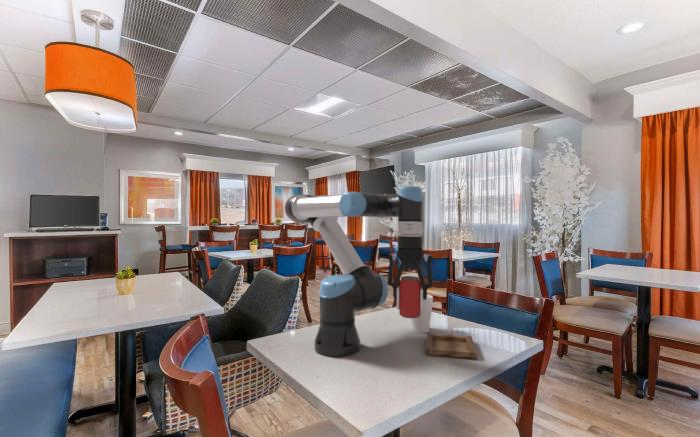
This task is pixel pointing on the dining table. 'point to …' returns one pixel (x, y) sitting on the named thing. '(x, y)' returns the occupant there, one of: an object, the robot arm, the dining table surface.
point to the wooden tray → (450, 346)
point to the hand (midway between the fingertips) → (409, 308)
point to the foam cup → (423, 316)
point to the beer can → (409, 297)
